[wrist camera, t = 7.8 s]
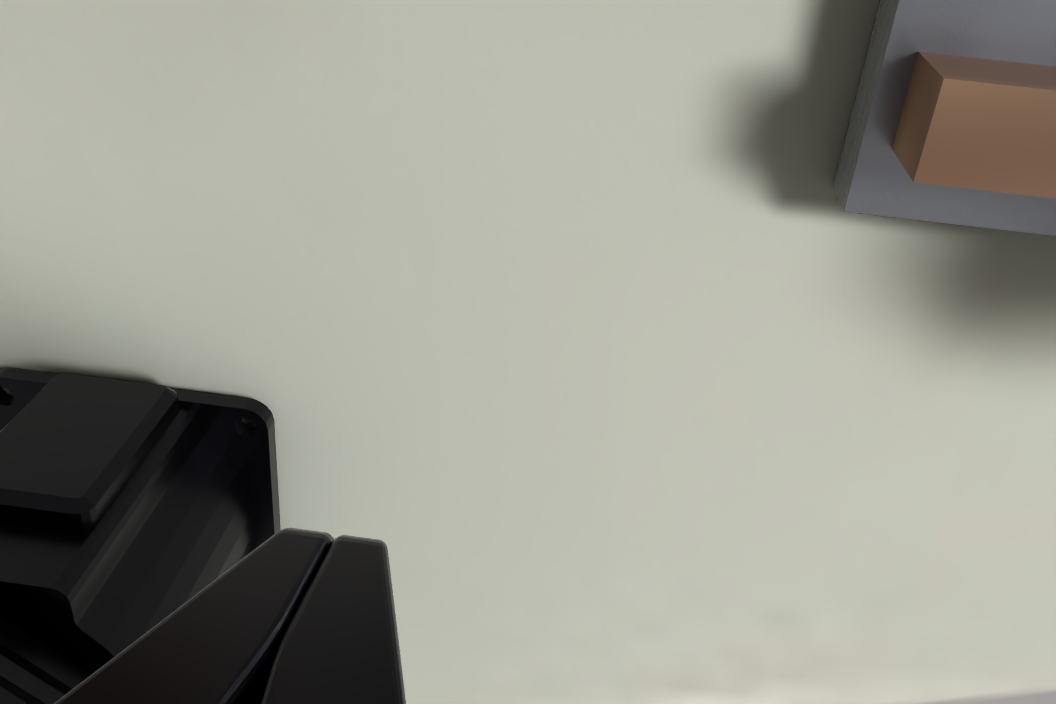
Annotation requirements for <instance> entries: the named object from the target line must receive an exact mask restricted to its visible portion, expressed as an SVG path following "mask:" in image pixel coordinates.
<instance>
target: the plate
mask: <svg viewBox="0 0 1056 704" xmlns="http://www.w3.org/2000/svg"><path fill="white" fill-rule="evenodd" d="M918 52H927V53H936V54H945V55H954V56H964V57H973V58H982V59H991V60H1001V61H1010V62H1019V63H1028V64H1038V65H1047V66H1056V0H880V3H879V7H878V11H877V15H876V19H875V23H874V27H873V31H872V35H871V39H870V43H869V47H868V50H867V54H866V58H865V62H864V66H863V70H862V74H861V78H860V82H859V86H858V90H857V94H856V98H855V102H854V106H853V110H852V114H851V118H850V122H849V126H848V130H847V134H846V138H845V142H844V146H843V150H842V154H841V158H840V162H839V166H838V169H837V173H836V177H835V181H834V185H833V187H834V190H835V192H836V194H837V197H838V199H839V201H840V203H841V206H842V208H843V210H844V212H853V213H861V214H870V215H878V216H887V217H896V218H904V219H913V220H921V221H930V222H939V223H947V224H956V225H965V226H973V227H982V228H990V229H999V230H1008V231H1016V232H1025V233H1033V234H1042V235H1051V236H1056V199H1055V198H1046V197H1037V196H1028V195H1020V194H1011V193H1002V192H993V191H985V190H976V189H967V188H958V187H950V186H941V185H932V184H923V183H915V182H913V181H912V180H911V178H910V176H909V175H908V173H907V172H906V170H905V169H904V167H903V165H902V164H901V162H900V161H899V159H898V158H897V156H896V154H895V153H894V151H893V150H892V145H893V142H894V138H895V134H896V131H897V127H898V124H899V120H900V116H901V113H902V109H903V106H904V102H905V98H906V95H907V91H908V88H909V84H910V80H911V77H912V73H913V70H914V66H915V62H916V59H917V55H918Z"/></svg>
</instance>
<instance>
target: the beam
mask: <svg viewBox="0 0 1056 704" xmlns="http://www.w3.org/2000/svg"><path fill="white" fill-rule="evenodd" d="M892 150H893V151H894V153H895V154H896V156H897V158H898V159H899V161H900V162H901V164H902V165H903V167H904V169H905V170H906V172H907V173H908V175H909V176H910V178H911V180H912V181H913V182H915V183H923V184H932V185H941V186H950V187H958V188H967V189H976V190H985V191H993V192H1002V193H1011V194H1020V195H1028V196H1037V197H1046V198H1055V199H1056V66H1047V65H1038V64H1028V63H1019V62H1010V61H1001V60H991V59H982V58H973V57H964V56H954V55H945V54H936V53H927V52H918V55H917V59H916V62H915V66H914V70H913V73H912V77H911V80H910V84H909V88H908V91H907V95H906V98H905V102H904V106H903V109H902V113H901V116H900V120H899V124H898V127H897V131H896V134H895V138H894V142H893V145H892Z"/></svg>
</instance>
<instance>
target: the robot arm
mask: <svg viewBox="0 0 1056 704" xmlns="http://www.w3.org/2000/svg"><path fill="white" fill-rule="evenodd" d="M3 387H4V388H7V389H8V390H9V391H10V392H11V393H12V395H13V396H12V395H10V394H8V393H7V392H5V391H4V389H3ZM242 418H246V419H249V420H251V421H253V422H254V423H255V424H256V427H251V426H248V425H246V424H245V423H244V422H243V421H242ZM0 704H406V700H405V691H404V683H403V674H402V666H401V658H400V649H399V641H398V632H397V624H396V616H395V607H394V599H393V590H392V582H391V574H390V565H389V557H388V550H387V546H386V544H385V543H384V542H383V541H381V540H377V539H369V538H362V537H355V536H347V535H341V536H339V537H337V538H336V539H335V540H334V538H333V537H332V536H331V535H330V534H328V533H325V532H318V531H310V530H303V529H295V528H285V529H283V530H280V514H279V496H278V479H277V461H276V444H275V427H274V418H273V415H272V412H271V411H270V410H269V409H268V407H267V406H265V405H264V404H263V403H261V402H260V401H256V400H253V399H248V398H240V397H233V396H225V395H217V394H209V393H201V392H194V391H186V390H178V389H170V388H168V387H166V386H161V385H153V384H146V383H138V382H130V381H122V380H115V379H107V378H99V377H91V376H83V375H76V374H68V373H59V374H54V373H46V372H38V371H31V370H23V369H15V368H0Z"/></svg>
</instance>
